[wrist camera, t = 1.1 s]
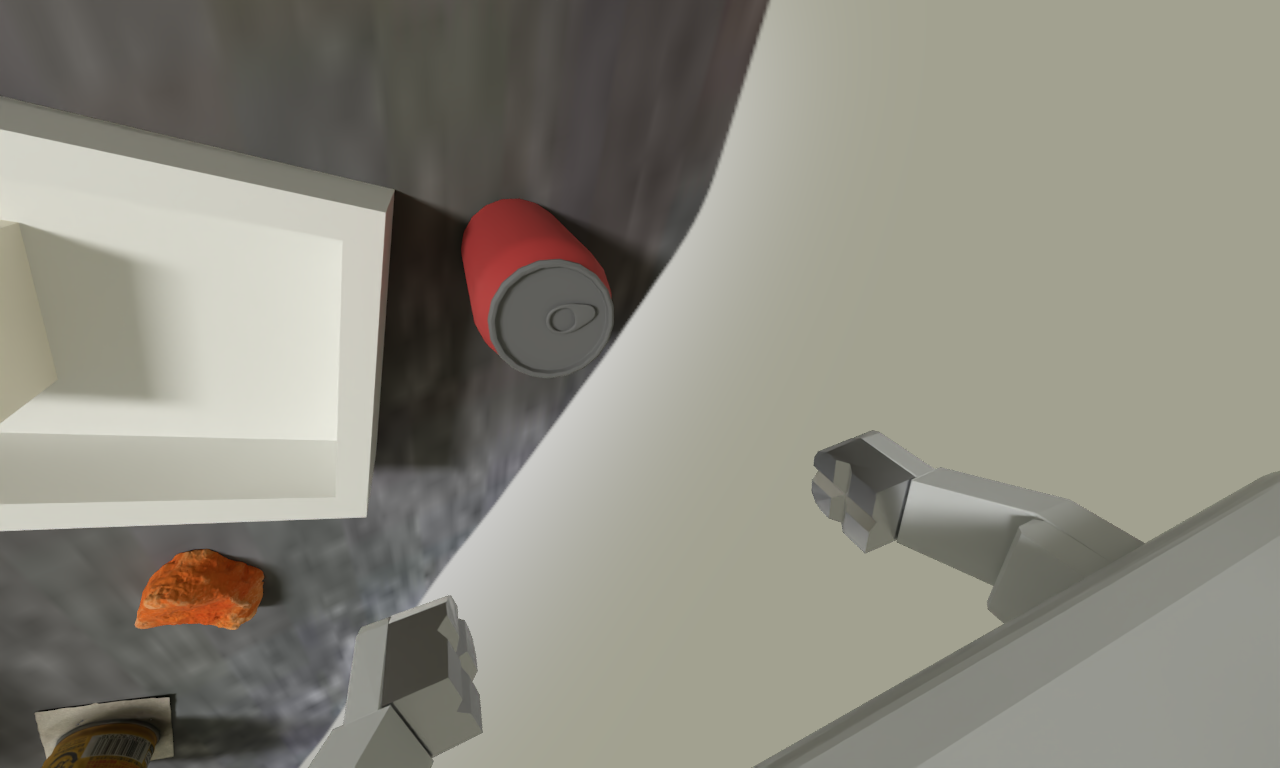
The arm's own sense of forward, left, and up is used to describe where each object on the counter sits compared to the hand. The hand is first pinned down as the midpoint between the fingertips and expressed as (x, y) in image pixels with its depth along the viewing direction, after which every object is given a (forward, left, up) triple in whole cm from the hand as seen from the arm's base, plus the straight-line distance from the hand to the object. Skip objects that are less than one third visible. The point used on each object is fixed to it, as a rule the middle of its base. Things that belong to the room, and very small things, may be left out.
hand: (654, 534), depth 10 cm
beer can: (0, +1, -25) cm, 25 cm away
